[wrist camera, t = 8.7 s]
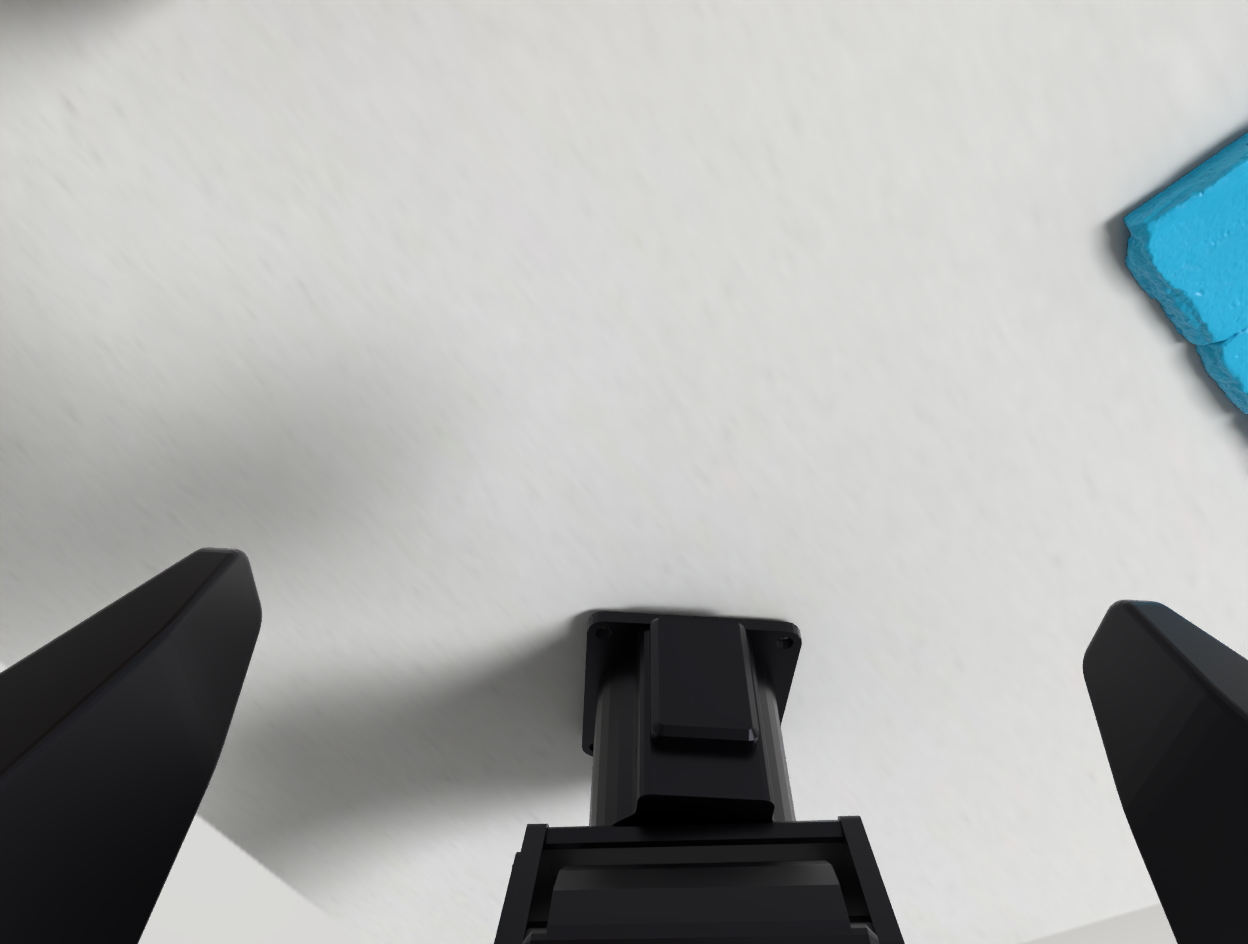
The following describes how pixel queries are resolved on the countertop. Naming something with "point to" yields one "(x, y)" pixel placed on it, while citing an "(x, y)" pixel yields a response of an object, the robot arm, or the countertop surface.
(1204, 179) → the sponge
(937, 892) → the countertop surface
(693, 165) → the countertop surface
